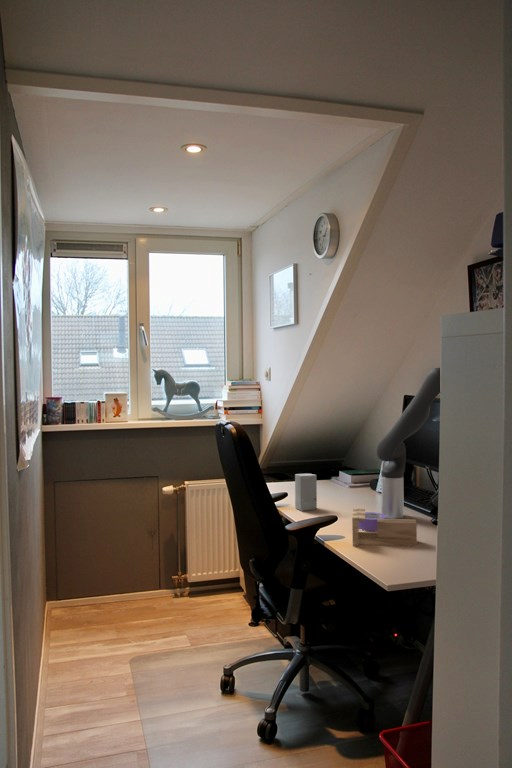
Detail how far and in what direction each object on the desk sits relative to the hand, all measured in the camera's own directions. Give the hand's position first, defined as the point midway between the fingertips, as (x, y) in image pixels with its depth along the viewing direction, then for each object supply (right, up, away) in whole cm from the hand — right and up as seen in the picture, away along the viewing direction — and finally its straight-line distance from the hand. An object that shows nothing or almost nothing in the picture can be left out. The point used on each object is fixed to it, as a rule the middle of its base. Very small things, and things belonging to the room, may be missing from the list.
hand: (433, 502), depth 231 cm
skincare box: (-42, -14, +56) cm, 71 cm away
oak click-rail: (-18, -15, +4) cm, 24 cm away
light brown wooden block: (-13, -15, +3) cm, 20 cm away
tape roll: (-18, -15, +23) cm, 33 cm away
